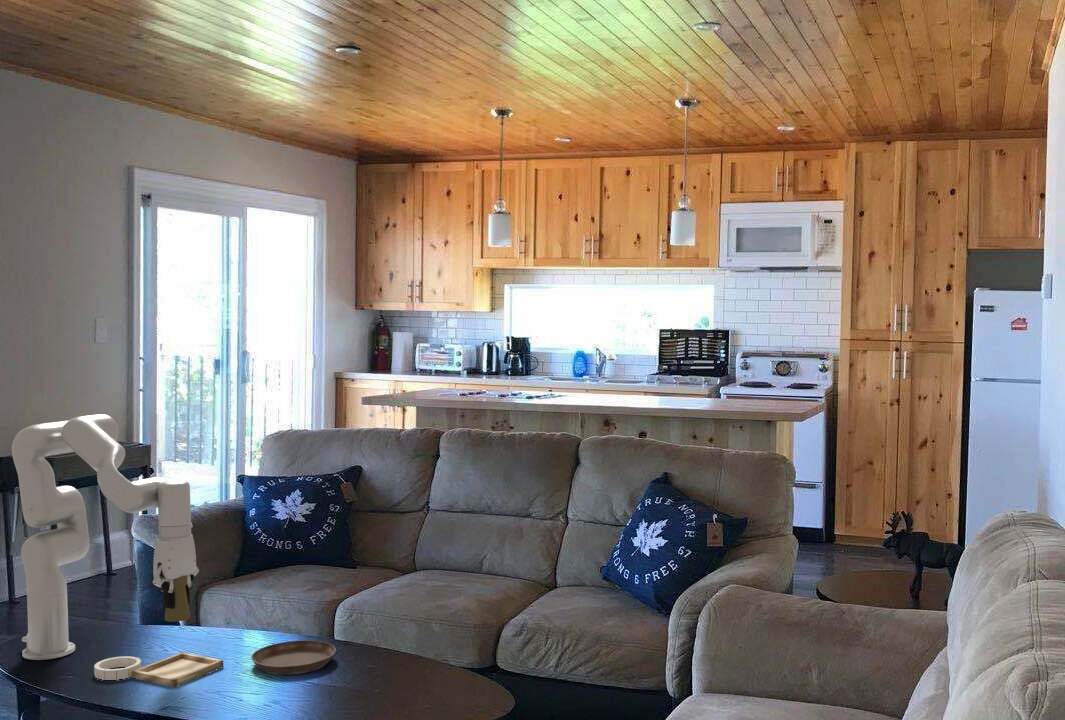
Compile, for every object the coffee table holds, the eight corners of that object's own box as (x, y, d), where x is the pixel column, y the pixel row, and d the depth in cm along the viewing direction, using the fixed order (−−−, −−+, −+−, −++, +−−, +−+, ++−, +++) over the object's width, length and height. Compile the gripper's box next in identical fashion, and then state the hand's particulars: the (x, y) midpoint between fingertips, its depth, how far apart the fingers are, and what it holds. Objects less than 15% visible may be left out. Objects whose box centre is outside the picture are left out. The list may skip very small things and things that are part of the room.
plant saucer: (234, 673, 266) (233, 659, 266) (283, 648, 285) (283, 635, 285) (305, 683, 259) (305, 669, 258) (351, 657, 278) (351, 644, 278)
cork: (182, 622, 262) (181, 577, 261) (159, 621, 263) (158, 576, 262) (195, 615, 268) (193, 571, 267) (172, 614, 269) (171, 570, 268)
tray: (132, 678, 262) (132, 671, 262) (182, 659, 276) (182, 652, 276) (174, 687, 256) (174, 679, 256) (223, 667, 270) (223, 660, 270)
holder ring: (85, 676, 264) (85, 666, 264) (120, 663, 273) (120, 654, 273) (115, 683, 259) (115, 673, 259) (150, 670, 268) (150, 660, 268)
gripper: (189, 523, 273) (191, 595, 274) (136, 536, 259) (139, 612, 260) (211, 526, 270) (213, 599, 271) (159, 539, 255) (161, 616, 256)
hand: (176, 604), depth 265 cm, fingers closed on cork, 3 cm apart
